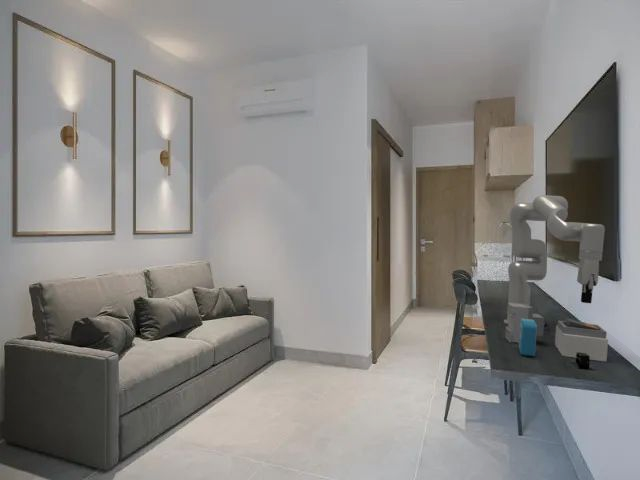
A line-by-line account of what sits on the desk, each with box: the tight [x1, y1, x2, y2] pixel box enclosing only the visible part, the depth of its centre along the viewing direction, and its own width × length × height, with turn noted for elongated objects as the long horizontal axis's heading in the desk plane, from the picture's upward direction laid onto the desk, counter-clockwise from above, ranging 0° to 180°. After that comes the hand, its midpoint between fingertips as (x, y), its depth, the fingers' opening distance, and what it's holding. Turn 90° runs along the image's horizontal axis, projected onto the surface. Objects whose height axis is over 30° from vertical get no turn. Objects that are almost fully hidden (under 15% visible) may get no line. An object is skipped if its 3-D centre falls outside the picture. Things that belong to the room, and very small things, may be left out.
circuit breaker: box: [504, 303, 548, 344], centre depth 174 cm, size 8×14×15 cm, turn 78°
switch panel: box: [554, 320, 609, 362], centre depth 161 cm, size 16×14×10 cm
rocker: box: [564, 317, 599, 330], centre depth 161 cm, size 7×10×2 cm
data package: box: [518, 318, 537, 358], centre depth 158 cm, size 12×4×12 cm, turn 158°
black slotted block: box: [568, 352, 597, 372], centre depth 146 cm, size 12×7×5 cm, turn 166°
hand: (585, 302), depth 162 cm, fingers closed
